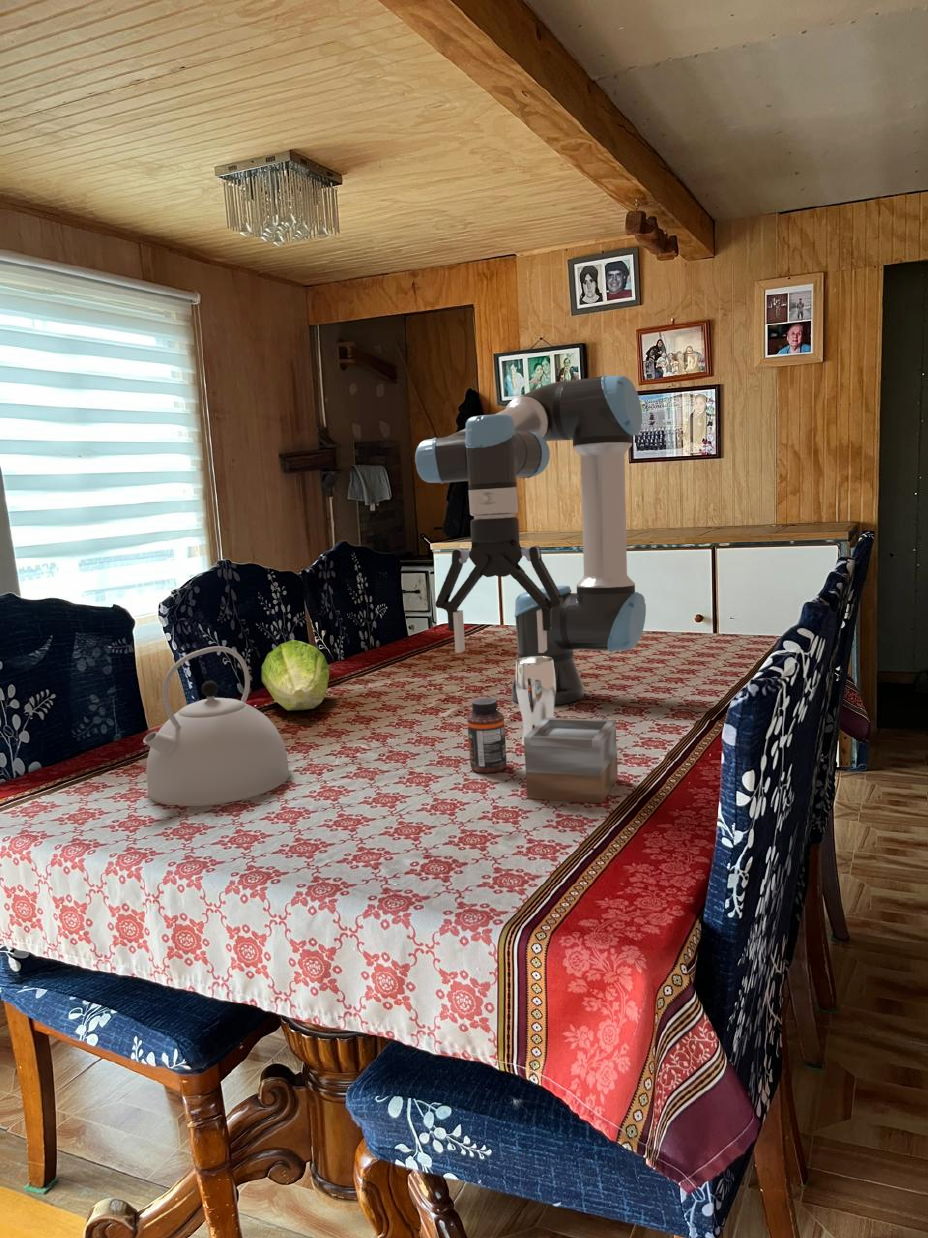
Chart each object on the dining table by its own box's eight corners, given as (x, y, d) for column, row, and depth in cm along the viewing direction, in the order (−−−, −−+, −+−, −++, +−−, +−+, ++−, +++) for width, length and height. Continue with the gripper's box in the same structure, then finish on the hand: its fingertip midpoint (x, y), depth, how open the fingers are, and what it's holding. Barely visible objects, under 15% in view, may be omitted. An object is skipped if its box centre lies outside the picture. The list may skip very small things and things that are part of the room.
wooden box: (548, 774, 146) (545, 717, 145) (617, 778, 142) (615, 720, 141) (527, 798, 136) (523, 737, 135) (601, 803, 132) (598, 740, 131)
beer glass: (562, 738, 166) (558, 655, 164) (553, 749, 159) (549, 663, 157) (525, 737, 168) (520, 655, 166) (514, 748, 162) (509, 663, 160)
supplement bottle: (468, 764, 154) (464, 697, 153) (504, 761, 155) (500, 694, 153) (472, 775, 148) (467, 706, 147) (509, 772, 149) (505, 703, 147)
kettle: (203, 820, 136) (187, 669, 133) (105, 800, 149) (87, 661, 145) (317, 770, 157) (305, 638, 154) (223, 756, 169) (210, 633, 166)
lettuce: (341, 723, 192) (268, 738, 189) (332, 690, 215) (267, 703, 212) (329, 656, 188) (254, 670, 185) (321, 629, 211) (255, 642, 209)
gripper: (410, 521, 145) (418, 655, 148) (568, 513, 137) (574, 655, 140) (427, 519, 152) (434, 647, 155) (578, 512, 145) (583, 647, 147)
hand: (501, 651), depth 148 cm, fingers open, 13 cm apart
